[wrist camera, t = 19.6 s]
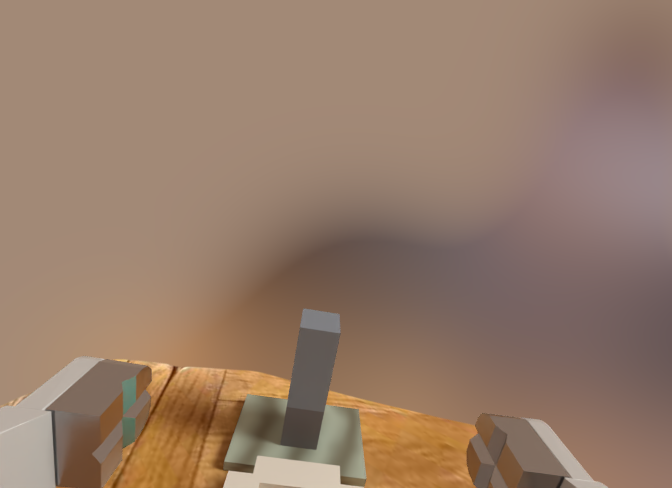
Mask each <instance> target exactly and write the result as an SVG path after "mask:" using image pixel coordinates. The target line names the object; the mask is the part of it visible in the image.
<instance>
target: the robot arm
mask: <svg viewBox="0 0 672 488" xmlns="http://www.w3.org/2000/svg"><path fill="white" fill-rule="evenodd" d="M151 381H152V372H151V368H150V367H149V366H145V365H139V364H133V363H127V362H121V361H115V360H109V359H100V358H94V357H88V356H82V357H78V358H76V359H75V360H73V361H72V362H71V363H70V364H68V365H67V366H66V367H64V368H63V369H62V370H61V371H59V372H58V373H57V374H56V375H54V376H53V377H52V378H51V379H49V380H48V381H47V382H45V383H44V384H43V385H42V386H40V387H39V388H38V389H36V390H35V391H34V392H33V393H31V394H30V395H29V396H28V397H26V398H25V399H24V400H23V401H21V402H20V403H19V404H17V405H16V406H15V407H14V406H4V407H2V408H0V488H56V486H57V487H69V488H103V487H104V485H105V484H106V482H107V481H108V480H109V478H110V477H111V475H112V474H113V472H114V471H115V469H116V468H117V467H118V465H119V464H120V462H121V461H122V449H123V448H125V447H126V446H128V445H130V444H131V443H133V442H135V440H136V439H137V437H138V436H139V434H140V433H141V431H142V430H143V427H144V425H145V423H146V420H147V418H148V415H149V410H150V406H151V396H150V395H149V394H148V392H147V391H146V388H147V386H148V385H149V384H150V383H151ZM475 427H476V429H477V431H478V434H477V435H476V436H474V437H473V438H472V439H470V441H469V445H468V448H467V467H468V471H469V474H470V477H471V479H472V482H473V484H474V485H475V486H476V487H477V488H608V487H607V486H605V485H604V484H602V483H601V482H595V481H593V479H592V478H591V477H590V476H589V475H588V473H587V472H586V471H585V470H584V468H583V467H582V466H581V465H580V463H579V462H578V461H577V460H576V459H575V458H574V456H573V455H572V454H571V452H570V451H569V450H568V449H567V448H566V447H565V445H564V444H563V443H562V442H561V440H560V439H559V438H558V437H557V435H556V434H555V433H554V432H553V430H552V429H551V428H550V427H549V426H548V424H546V423H545V422H543V421H542V420H538V419H529V418H516V417H509V416H501V415H494V414H486V413H482V414H481V415H480V416H479V417H478V419H477V422H476V424H475Z"/></svg>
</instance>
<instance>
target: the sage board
mask: <svg viewBox="0 0 672 488" xmlns="http://www.w3.org/2000/svg"><path fill="white" fill-rule="evenodd" d="M287 402H288V400H286V399H279V398H272V397H264V396H257V395H250V394H247V397H246V400H245V403H244V406H243V408H242V411H241V414H240V417H239V420H238V423H237V426H236V429H235V432H234V434H233V437H232V440H231V443H230V446H229V449H228V452H227V455H226V457H225V460H224V467H223V470H228V471H236V472H244V473H252V474H253V472H254V467H255V463H256V459H257V456H265V457H273V458H281V459H289V460H297V461H305V462H313V463H321V464H329V465H337V466H340V484H343V485H351V486H359V487H364V486H365V482H366V472H365V463H364V454H363V445H362V436H361V427H360V418H359V409H352V408H344V407H337V406H330V405H326V406H325V411H324V416H323V420H322V425H321V430H320V435H319V440H318V445H317V449H316V450H312V449H304V448H297V447H289V446H282V445H280V443H281V437H282V431H283V425H284V419H285V413H286V407H287Z"/></svg>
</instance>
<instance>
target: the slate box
mask: <svg viewBox="0 0 672 488" xmlns="http://www.w3.org/2000/svg"><path fill="white" fill-rule="evenodd" d="M339 338H340V315H339V314H334V313H328V312H322V311H316V310H310V309H303V314H302V320H301V325H300V331H299V337H298V342H297V349H296V354H295V361H294V366H293V373H292V378H291V384H290V390H289V396H288V402H287V407H286V413H285V419H284V425H283V431H282V437H281V443H280V445H282V446H289V447H297V448H304V449H312V450H316V449H317V445H318V440H319V435H320V430H321V425H322V420H323V416H324V411H325V406H326V401H327V396H328V391H329V386H330V382H331V377H332V372H333V367H334V362H335V357H336V353H337V347H338V343H339Z"/></svg>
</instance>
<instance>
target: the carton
mask: <svg viewBox="0 0 672 488" xmlns="http://www.w3.org/2000/svg"><path fill="white" fill-rule="evenodd" d="M223 488H364V487H359V486H351V485H343V484H340V466H337V465H329V464H321V463H313V462H305V461H297V460H289V459H281V458H273V457H265V456H257V459H256V463H255V467H254V472H253V474H252V473H244V472H236V471H228V474H227V477H226V480H225V483H224V487H223Z"/></svg>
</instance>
